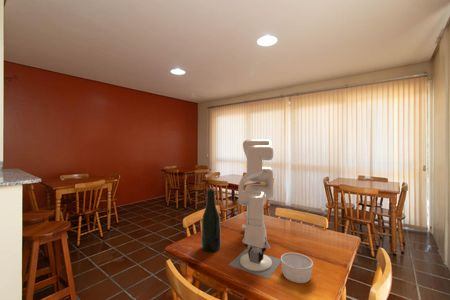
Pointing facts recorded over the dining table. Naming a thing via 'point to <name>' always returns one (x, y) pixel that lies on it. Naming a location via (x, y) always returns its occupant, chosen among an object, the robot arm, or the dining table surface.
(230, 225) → the dining table surface
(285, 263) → the ramekin
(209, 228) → the green wine bottle
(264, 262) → the lid
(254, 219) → the robot arm
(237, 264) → the mat
